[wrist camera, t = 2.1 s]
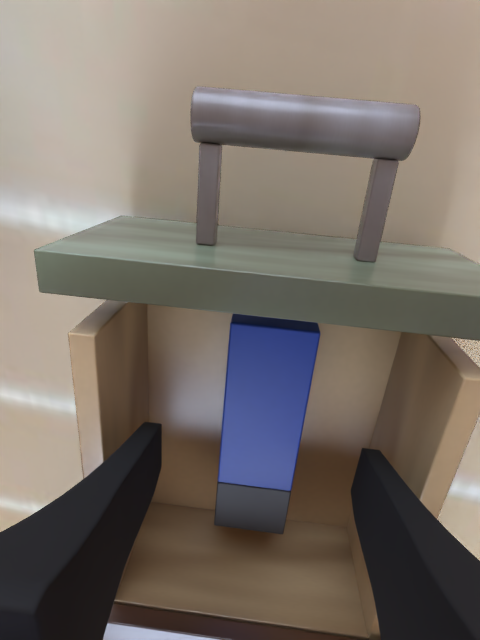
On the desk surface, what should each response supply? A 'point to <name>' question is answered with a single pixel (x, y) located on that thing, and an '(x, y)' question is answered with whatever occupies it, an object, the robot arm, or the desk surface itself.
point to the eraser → (263, 419)
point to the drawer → (327, 382)
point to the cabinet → (193, 627)
